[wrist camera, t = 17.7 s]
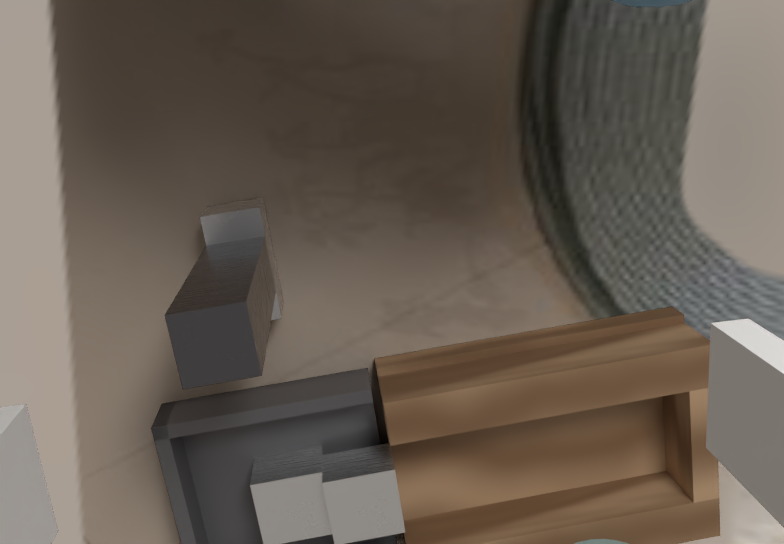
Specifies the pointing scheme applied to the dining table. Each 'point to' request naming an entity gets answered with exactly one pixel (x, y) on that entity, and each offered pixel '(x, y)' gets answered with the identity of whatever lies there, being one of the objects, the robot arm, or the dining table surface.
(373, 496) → the block
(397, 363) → the slot board
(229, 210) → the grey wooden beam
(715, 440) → the robot arm
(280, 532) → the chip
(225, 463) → the tray
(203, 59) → the dining table surface
